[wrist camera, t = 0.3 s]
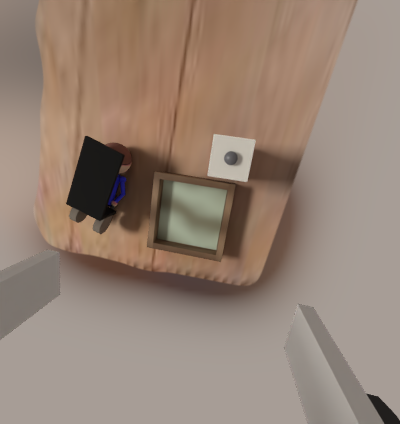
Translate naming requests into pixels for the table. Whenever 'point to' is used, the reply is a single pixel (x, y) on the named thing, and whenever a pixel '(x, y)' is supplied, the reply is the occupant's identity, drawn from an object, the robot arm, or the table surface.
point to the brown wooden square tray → (189, 215)
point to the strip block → (231, 157)
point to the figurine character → (98, 182)
